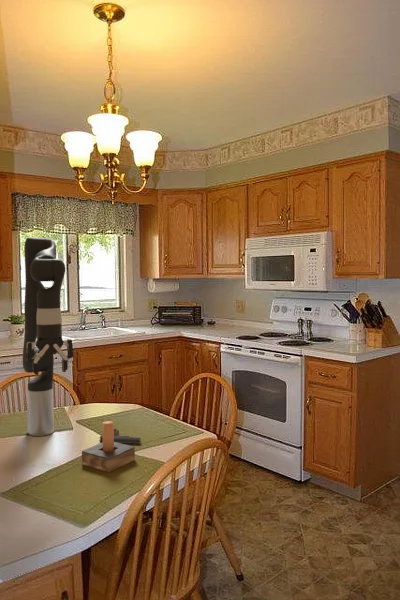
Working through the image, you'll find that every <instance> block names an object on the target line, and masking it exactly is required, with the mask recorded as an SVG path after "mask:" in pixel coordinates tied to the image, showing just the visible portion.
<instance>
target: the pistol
mask: <svg viewBox="0 0 400 600" xmlns="http://www.w3.org/2000/svg"><path fill="white" fill-rule="evenodd" d="M102 442H103V435H100V436H99V444H100V443H102ZM114 442H117V443H121V444H125V445H134V446H137V445H141V443H142V440H141V437H134V436H129V435H125V434H120V430H119V429H117V428H114Z"/></svg>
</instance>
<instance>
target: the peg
mask: <svg viewBox="0 0 400 600" xmlns="http://www.w3.org/2000/svg"><path fill="white" fill-rule="evenodd" d="M114 425H115V424H114V421H111V420H110V421H109V420H107V421H103V422H102V427H101V428H102V436H103V451H105V452H108V453H109V452H111V451H113V450H114V429H115V428H114Z"/></svg>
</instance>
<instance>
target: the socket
mask: <svg viewBox="0 0 400 600" xmlns="http://www.w3.org/2000/svg"><path fill="white" fill-rule="evenodd" d="M135 451H136V447H135V445H134V446H133V445H131V444H121V443H117V442H114V450H113V451H111V452H109V453H108V452H105V451H103V442H102V443H100V442H99V443H98V444H95V445H93V446H91V447H89V448H86V449H83V450H81V465H83V466H86V467H90V468H93V469H97V470H101V471H104V472H107V473H111V472H113V471H115V470H117V469H119V468H121V467H124V466H125V465H128V464H130V463H131V462H133V461H135V460H136V454H135V453H136V452H135Z"/></svg>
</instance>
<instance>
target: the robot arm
mask: <svg viewBox="0 0 400 600" xmlns="http://www.w3.org/2000/svg"><path fill="white" fill-rule="evenodd" d="M23 249H24V269H25V270H24V272H25V287H24V337H23V338H24V339H23V347H22V367H23V370H24V372H26V373H28V374H30V373H31V374H32V373H33V374H34V375H35V376H36V378H34V379H31V380H30V381H28V382H27V403H28V405H27V408H26V421H27V422H26V423H27V424H26V425H27V426H26V428H27V430H26V432H27V433H28V435H30V436H32V437H43V436H48V435H51V434H53V433H54V432H55V428H54V426H55V425H54V423H55V422H54V421H55V420H54V386H53V385H54V365H55V364H54V355H56V354H58V355H59V357H60V358H61V372H63V373H66V372H67V371H68V369H69V366H68V362H69V361H68V360H69V359H72V358H74V348H73V340H72V339H71V338H67V339H63V329H62V328H63V327H62V326H63V325H62V322H63V318H62V312H61V311H62V310H61V291H62V285H63V281H64V278H65V274H66V264H65V263H64V261H63V260H61V259H59V258H57V245H56V242H55V240H53V239H52V238H49V237H27V238H26V239H25V241H24V248H23ZM42 282H53V284H52V285H51V286H50V287H48V288H46V287H45V286H44V284H43V283H42ZM63 345H65V347H66V350H67V354H65V352H64V350H62V349H61V348H62V347H63ZM39 373H40V374H39Z"/></svg>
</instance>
